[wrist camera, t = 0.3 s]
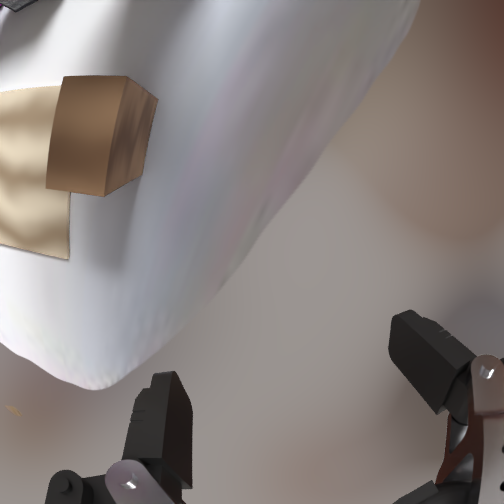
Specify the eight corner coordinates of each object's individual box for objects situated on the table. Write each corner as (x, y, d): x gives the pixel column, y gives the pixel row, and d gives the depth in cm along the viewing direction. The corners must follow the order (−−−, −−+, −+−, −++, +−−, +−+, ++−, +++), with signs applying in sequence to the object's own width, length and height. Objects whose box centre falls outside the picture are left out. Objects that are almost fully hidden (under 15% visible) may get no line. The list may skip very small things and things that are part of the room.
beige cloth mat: (-27, 98, 15) (-30, 98, 15) (87, 85, 20) (85, 85, 20) (-34, 232, 22) (-36, 233, 22) (69, 257, 27) (67, 259, 27)
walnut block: (113, 95, 22) (63, 76, 12) (158, 99, 23) (127, 76, 13) (99, 168, 24) (45, 188, 14) (142, 174, 26) (103, 196, 16)
